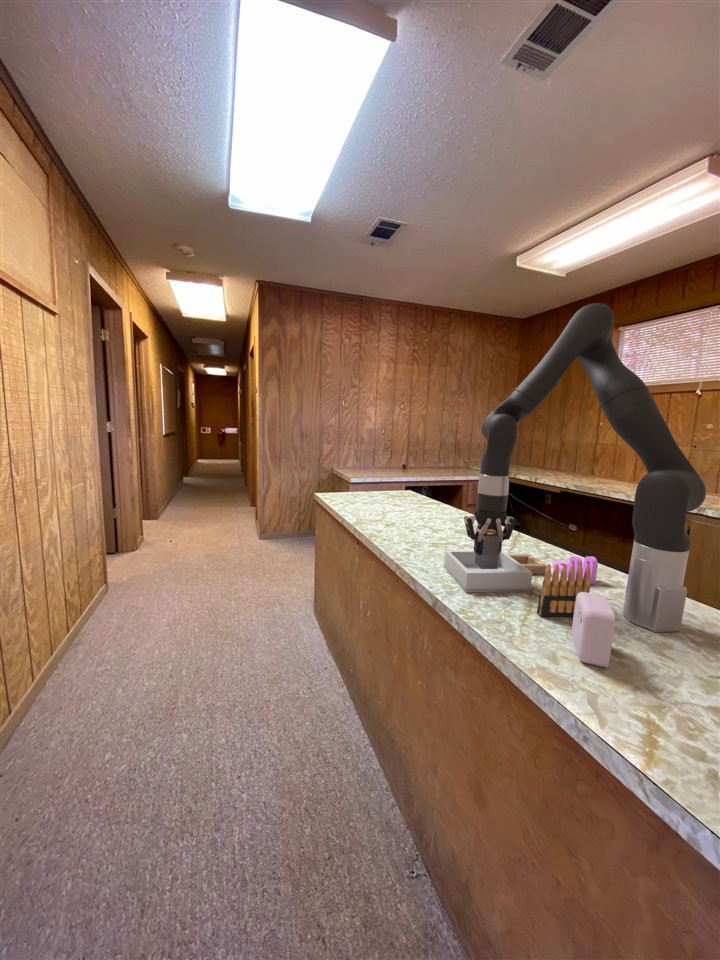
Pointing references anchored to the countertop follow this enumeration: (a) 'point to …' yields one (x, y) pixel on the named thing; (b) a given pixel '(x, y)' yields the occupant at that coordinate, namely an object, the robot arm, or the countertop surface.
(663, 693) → the countertop surface
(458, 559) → the bin
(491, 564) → the grey upright block
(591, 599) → the electronic device
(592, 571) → the pink humped piece
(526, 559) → the socket block
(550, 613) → the ammunition clip
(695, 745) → the countertop surface
